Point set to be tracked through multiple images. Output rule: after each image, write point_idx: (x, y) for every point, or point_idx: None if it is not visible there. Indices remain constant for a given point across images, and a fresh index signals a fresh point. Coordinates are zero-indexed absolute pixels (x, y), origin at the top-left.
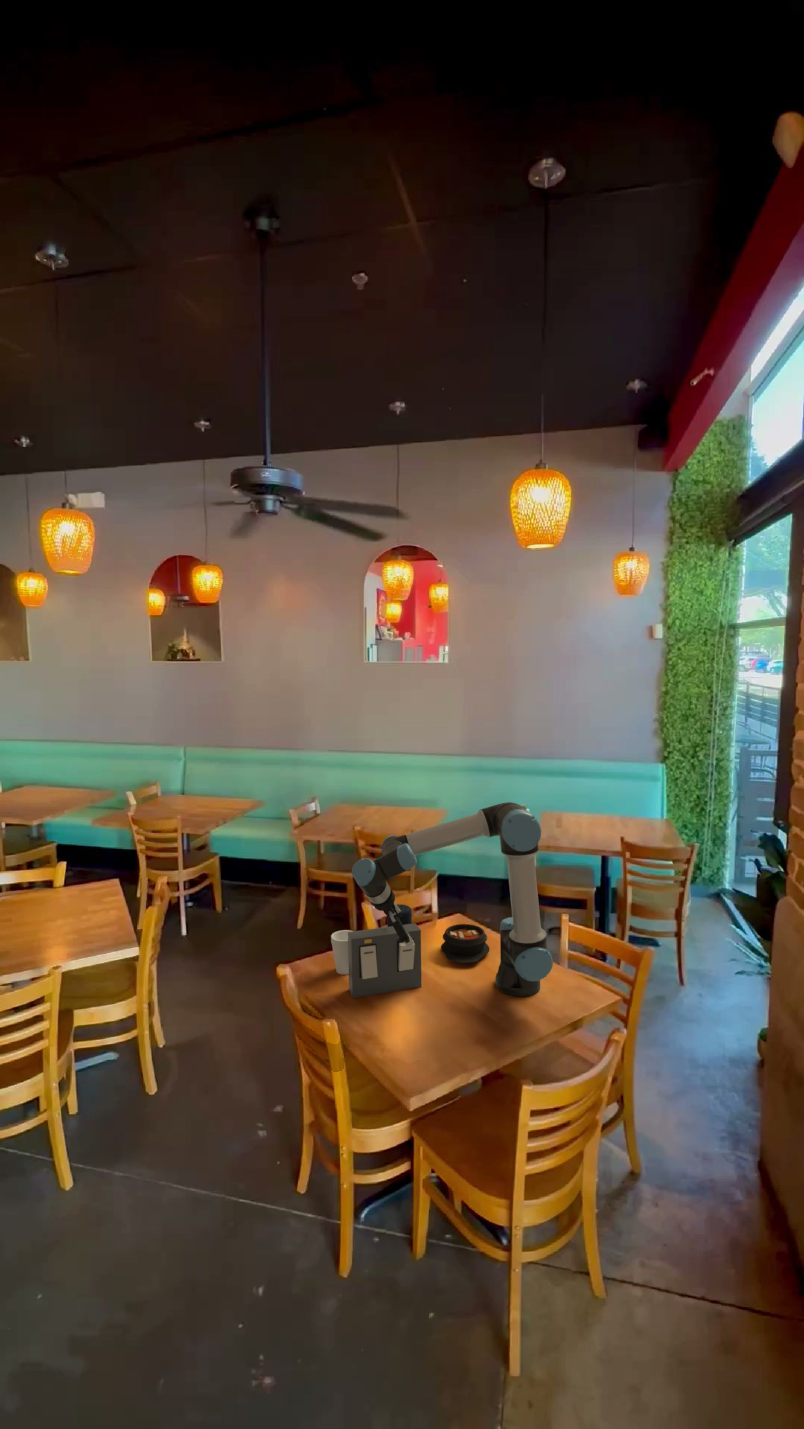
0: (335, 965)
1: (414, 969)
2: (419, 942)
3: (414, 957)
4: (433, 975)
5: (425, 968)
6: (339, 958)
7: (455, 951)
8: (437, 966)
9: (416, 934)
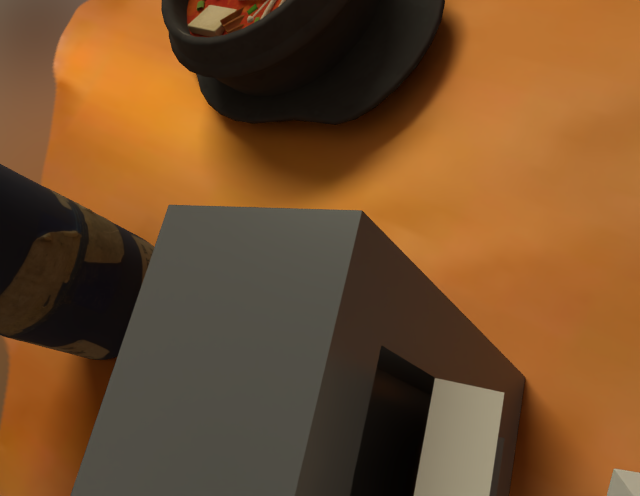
0: None
1: None
2: (420, 290)
3: None
4: (427, 248)
5: None
6: None
7: (321, 60)
8: (350, 191)
9: (372, 293)
